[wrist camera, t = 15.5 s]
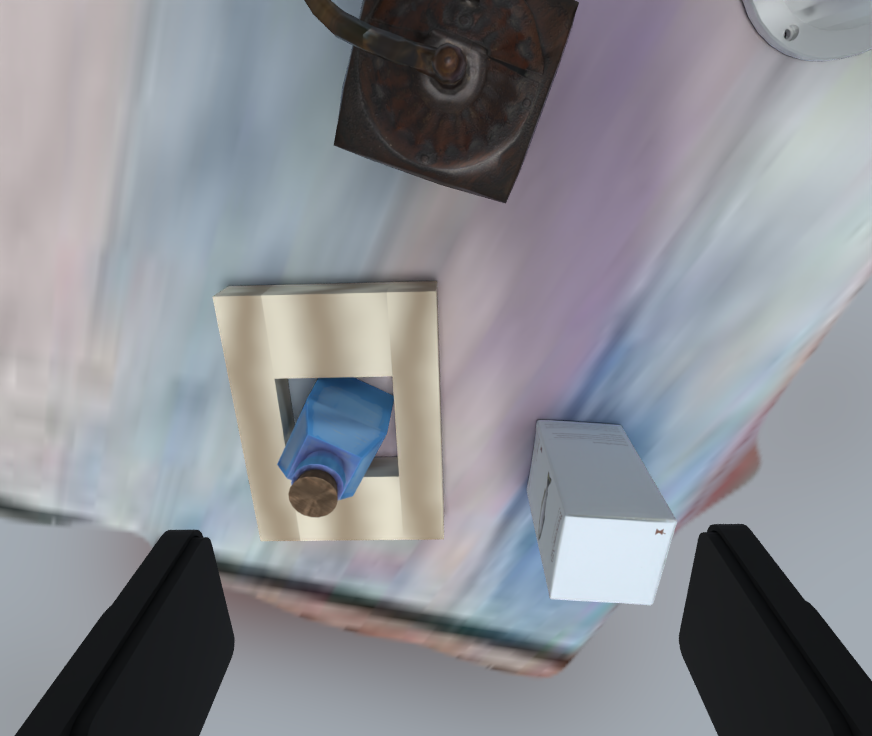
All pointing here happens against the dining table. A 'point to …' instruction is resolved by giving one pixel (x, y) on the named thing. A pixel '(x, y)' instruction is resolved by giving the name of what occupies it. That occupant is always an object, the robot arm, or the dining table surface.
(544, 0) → the coffee grinder
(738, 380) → the dining table surface
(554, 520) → the supplement box
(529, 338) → the dining table surface
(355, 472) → the perfume bottle
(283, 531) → the hole board
